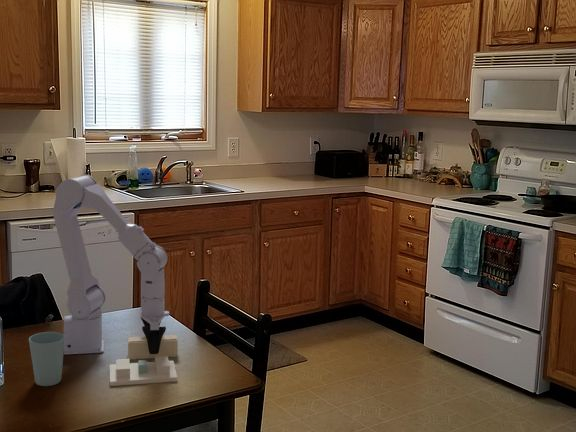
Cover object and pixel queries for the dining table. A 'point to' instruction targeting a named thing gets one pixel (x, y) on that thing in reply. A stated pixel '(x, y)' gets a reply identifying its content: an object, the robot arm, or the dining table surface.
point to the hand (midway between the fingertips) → (152, 347)
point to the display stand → (142, 372)
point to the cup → (47, 357)
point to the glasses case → (141, 351)
